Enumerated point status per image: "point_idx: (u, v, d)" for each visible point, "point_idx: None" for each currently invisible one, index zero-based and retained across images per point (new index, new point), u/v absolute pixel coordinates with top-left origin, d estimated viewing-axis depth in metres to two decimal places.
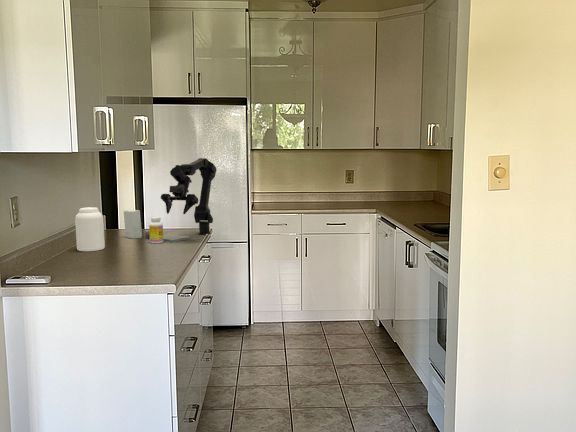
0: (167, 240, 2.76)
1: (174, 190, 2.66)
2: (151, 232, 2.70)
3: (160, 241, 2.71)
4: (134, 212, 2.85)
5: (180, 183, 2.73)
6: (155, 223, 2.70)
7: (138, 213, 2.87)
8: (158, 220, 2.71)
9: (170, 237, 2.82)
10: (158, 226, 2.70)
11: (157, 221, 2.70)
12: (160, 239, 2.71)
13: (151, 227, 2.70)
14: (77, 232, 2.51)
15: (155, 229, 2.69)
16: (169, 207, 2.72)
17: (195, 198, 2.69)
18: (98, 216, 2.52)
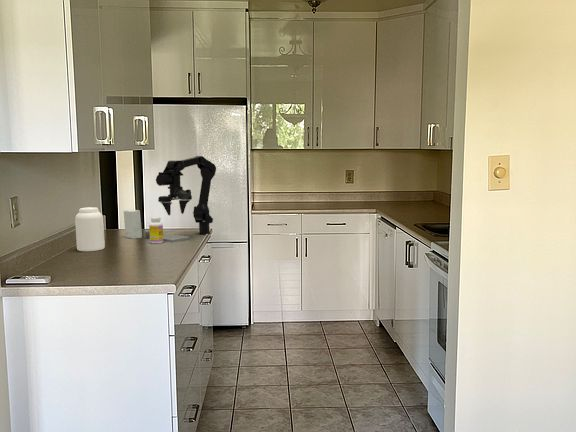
0: (167, 240, 2.76)
1: (187, 197, 2.78)
2: (151, 232, 2.70)
3: (160, 241, 2.71)
4: (134, 212, 2.85)
5: (178, 184, 2.79)
6: (155, 223, 2.70)
7: (138, 213, 2.87)
8: (158, 220, 2.71)
9: (170, 237, 2.82)
10: (158, 226, 2.70)
11: (157, 221, 2.70)
12: (160, 239, 2.71)
13: (151, 227, 2.70)
14: (77, 232, 2.51)
15: (155, 229, 2.69)
16: None
17: None
18: (98, 216, 2.52)
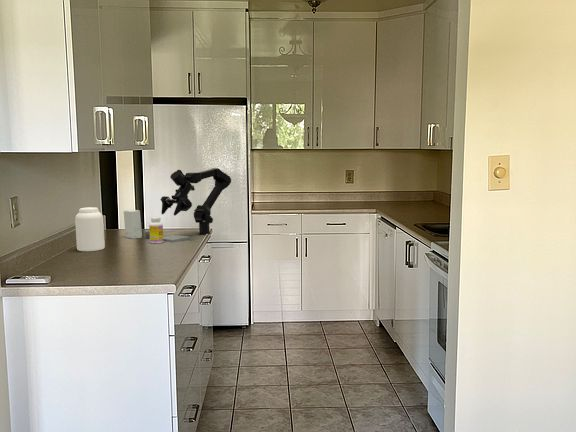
0: (167, 240, 2.76)
1: None
2: (151, 232, 2.70)
3: (160, 241, 2.71)
4: (134, 212, 2.85)
5: None
6: (155, 223, 2.70)
7: (138, 213, 2.87)
8: (158, 220, 2.71)
9: (170, 237, 2.82)
10: (158, 226, 2.70)
11: (157, 221, 2.70)
12: (160, 239, 2.71)
13: (151, 227, 2.70)
14: (77, 232, 2.51)
15: (155, 229, 2.69)
16: None
17: None
18: (98, 216, 2.52)
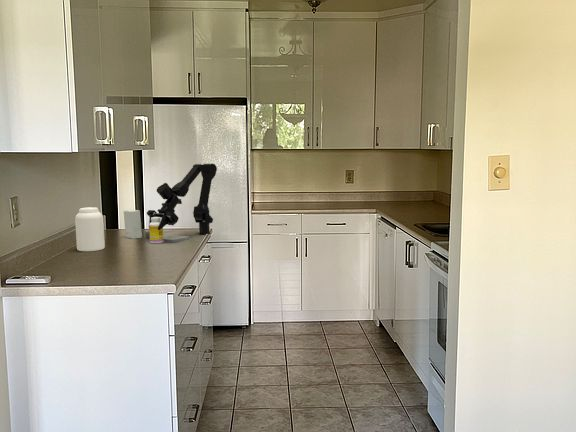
0: (167, 240, 2.76)
1: None
2: (151, 232, 2.70)
3: (160, 241, 2.71)
4: (134, 212, 2.85)
5: None
6: (155, 223, 2.70)
7: (138, 213, 2.87)
8: (158, 220, 2.71)
9: (170, 237, 2.82)
10: None
11: (157, 221, 2.70)
12: (160, 239, 2.71)
13: (151, 227, 2.70)
14: (77, 232, 2.51)
15: (155, 229, 2.69)
16: None
17: None
18: (98, 216, 2.52)
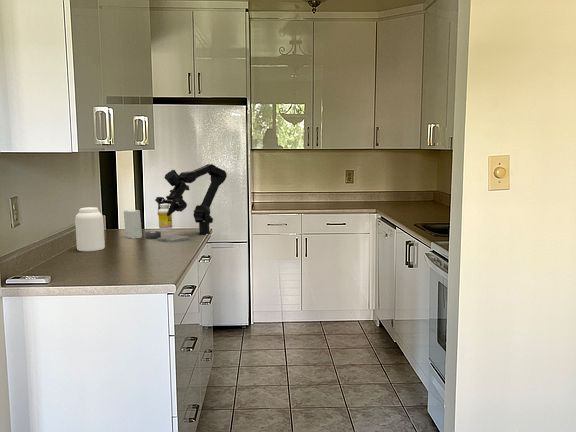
0: (167, 240, 2.76)
1: None
2: (160, 218, 2.74)
3: (169, 227, 2.75)
4: (134, 212, 2.85)
5: None
6: (164, 209, 2.73)
7: (138, 213, 2.87)
8: (167, 206, 2.75)
9: (170, 237, 2.82)
10: (167, 212, 2.74)
11: (166, 207, 2.74)
12: (169, 225, 2.75)
13: (160, 213, 2.74)
14: (77, 232, 2.51)
15: (164, 215, 2.73)
16: None
17: None
18: (98, 216, 2.52)
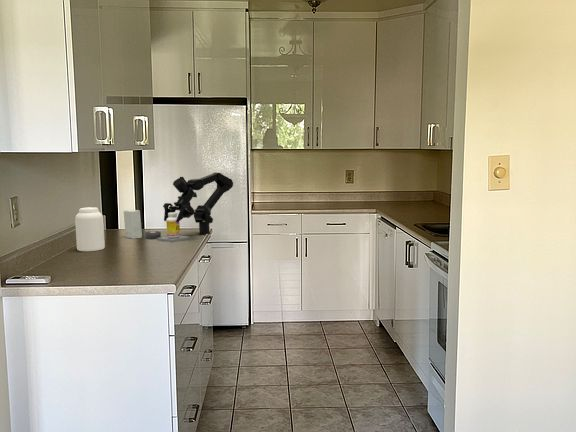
0: (167, 240, 2.76)
1: None
2: (168, 227, 2.79)
3: (177, 235, 2.80)
4: (134, 212, 2.85)
5: None
6: (172, 218, 2.78)
7: (138, 213, 2.87)
8: (175, 215, 2.79)
9: None
10: (175, 221, 2.78)
11: (174, 216, 2.79)
12: (177, 234, 2.80)
13: (168, 222, 2.78)
14: (77, 232, 2.51)
15: (172, 224, 2.78)
16: None
17: None
18: (98, 216, 2.52)
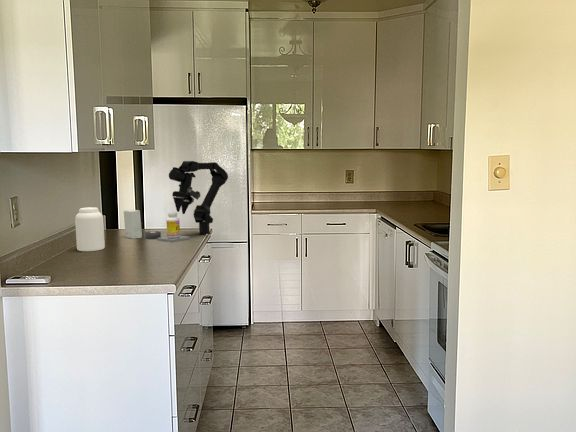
0: (167, 240, 2.76)
1: (198, 198, 2.86)
2: (168, 227, 2.79)
3: (177, 236, 2.80)
4: (134, 212, 2.85)
5: (190, 184, 2.86)
6: (172, 218, 2.78)
7: (138, 213, 2.87)
8: (175, 215, 2.79)
9: None
10: (175, 221, 2.78)
11: (174, 216, 2.79)
12: (177, 234, 2.80)
13: (168, 222, 2.78)
14: (77, 232, 2.51)
15: (172, 224, 2.78)
16: None
17: None
18: (98, 216, 2.52)
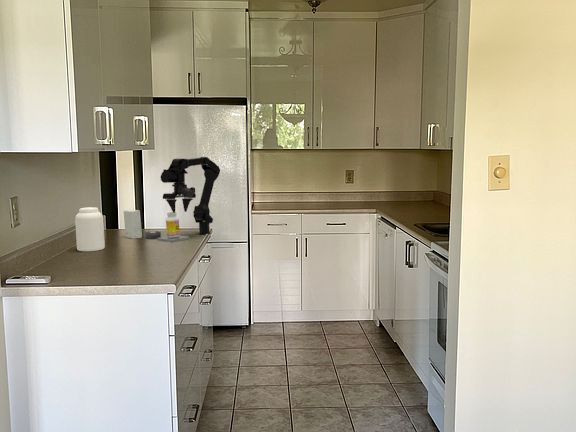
0: (167, 240, 2.76)
1: (191, 195, 2.80)
2: (168, 227, 2.79)
3: (177, 235, 2.80)
4: (134, 212, 2.85)
5: (183, 182, 2.81)
6: (171, 218, 2.78)
7: (138, 213, 2.87)
8: (174, 215, 2.79)
9: None
10: (175, 221, 2.78)
11: (173, 216, 2.79)
12: (177, 233, 2.80)
13: (168, 222, 2.78)
14: (77, 232, 2.51)
15: (172, 224, 2.78)
16: None
17: None
18: (98, 216, 2.52)
